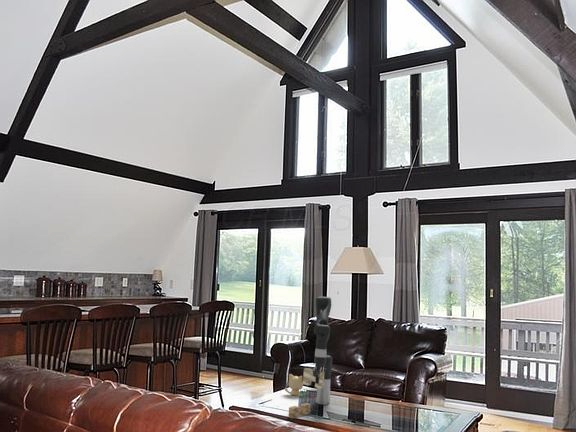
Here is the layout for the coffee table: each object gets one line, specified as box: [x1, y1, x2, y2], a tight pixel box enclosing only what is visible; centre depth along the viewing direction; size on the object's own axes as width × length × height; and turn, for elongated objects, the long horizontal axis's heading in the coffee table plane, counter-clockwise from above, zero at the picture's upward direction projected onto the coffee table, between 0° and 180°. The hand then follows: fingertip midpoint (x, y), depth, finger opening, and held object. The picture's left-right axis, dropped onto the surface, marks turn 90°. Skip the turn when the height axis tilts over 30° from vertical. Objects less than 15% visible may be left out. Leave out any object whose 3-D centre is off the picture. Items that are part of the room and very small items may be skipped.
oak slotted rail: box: [287, 402, 312, 419], centre depth 329 cm, size 18×4×6 cm, turn 141°
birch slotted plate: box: [302, 367, 324, 389], centre depth 336 cm, size 4×14×10 cm, turn 51°
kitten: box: [284, 373, 306, 398], centre depth 383 cm, size 15×10×15 cm
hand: (318, 382), depth 333 cm, fingers closed on birch slotted plate, 3 cm apart
